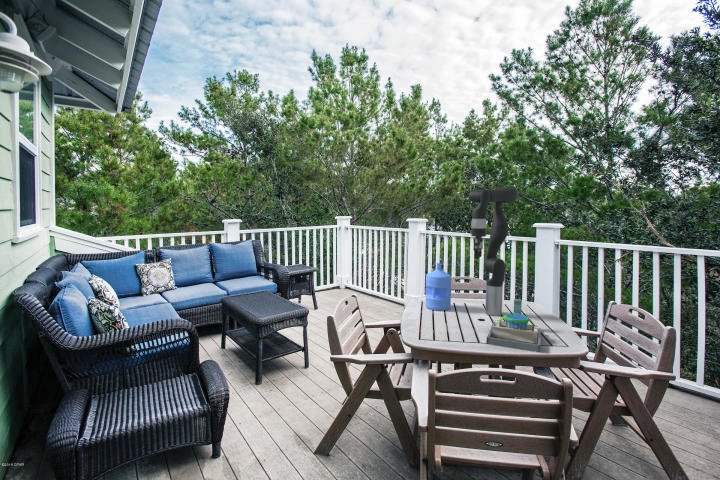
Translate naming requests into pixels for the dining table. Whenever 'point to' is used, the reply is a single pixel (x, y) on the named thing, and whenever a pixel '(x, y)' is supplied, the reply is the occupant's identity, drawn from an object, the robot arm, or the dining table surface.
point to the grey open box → (515, 333)
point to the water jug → (438, 290)
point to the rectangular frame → (513, 342)
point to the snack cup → (516, 321)
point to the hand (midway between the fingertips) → (478, 257)
